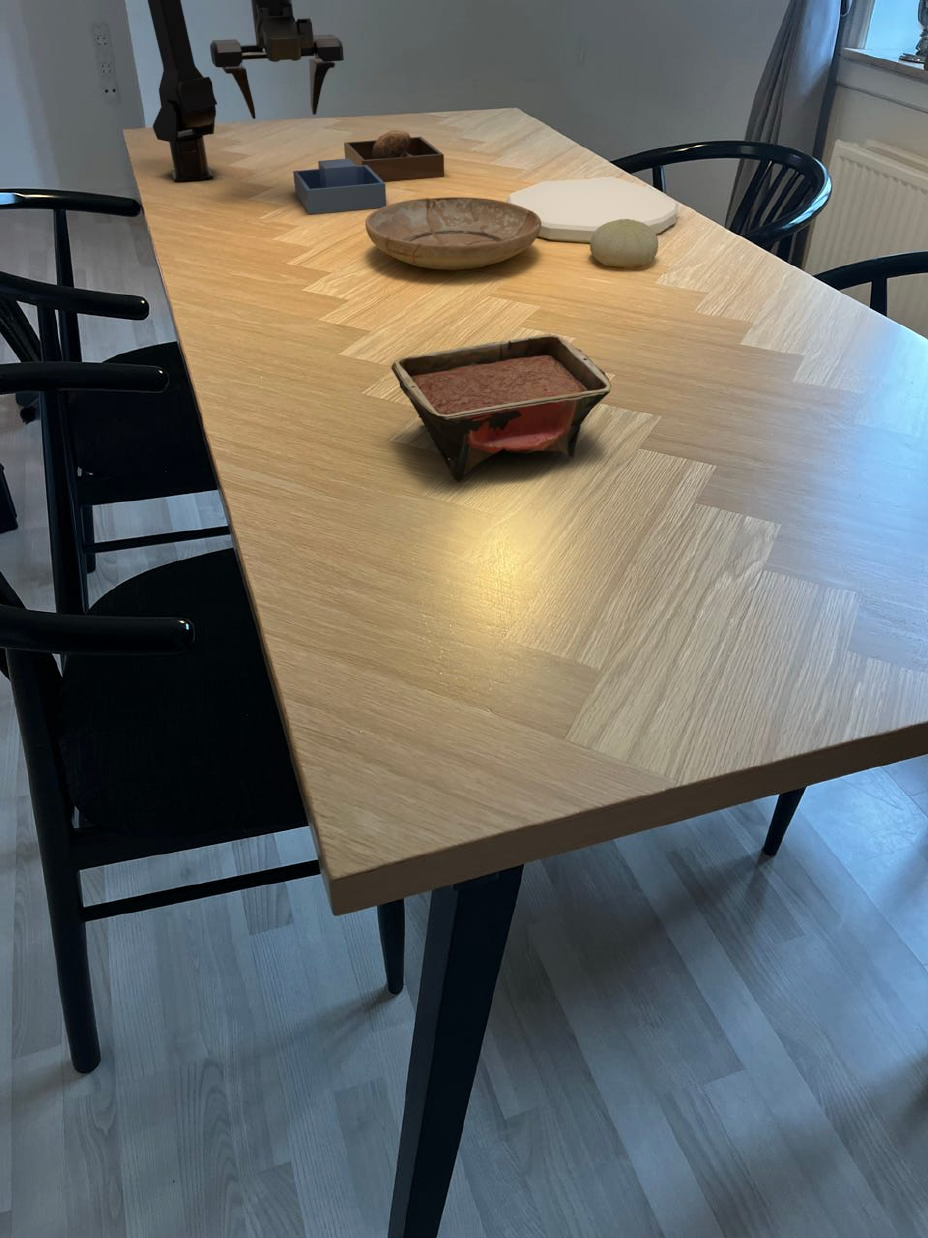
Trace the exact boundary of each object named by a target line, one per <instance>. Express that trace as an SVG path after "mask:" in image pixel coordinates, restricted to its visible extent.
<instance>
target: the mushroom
mask: <svg viewBox="0 0 928 1238" xmlns="http://www.w3.org/2000/svg"><path fill="white" fill-rule="evenodd" d="M410 137H411V135H410V133H408V132H407V131H405V130H394V129H393V130H389V131H387V132H385V133H384V134H382V135H380V136H379V137H378V138H377V139H376V140H377V141H376V142H375V144H374V146H373V151H372V157H373V159H383V158H395V157H408V156H412V155H410V154H408V153H407V151H406V149H407V147H408V146H409V144H410V140H411V138H410Z"/></svg>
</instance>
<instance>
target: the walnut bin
mask: <svg viewBox="0 0 928 1238" xmlns="http://www.w3.org/2000/svg"><path fill="white" fill-rule="evenodd" d="M410 138H411V140H410V144H409V146H408V147H407V149H406V151H407V153H408V154H410V155H412V156H408V157H395V158H383V159H373V157H372V151H373V146H374V144H375V142H376V141H377V140H378V139H373V140H360V141H348V142H344V143H343V147H344V148H343V150H344V159H348V158H349V159H350V160H351V161H352V162H353V163H354V164H355V165H356V166H361V165H368V166H369V168H370V169H371V170H372V171H373V172H374V173H375V174H376V175H377V176H378V177H379V178H380V179H381V180H382V181H383V182H384V183H385V182H397V181H398V182H399V181H406V180H407V181H409V180H421V179H431V178H432V179H433V178H442V177H445V154H444V153H443V152H442V151H441V150H439V149H438V148H436V147H435V146H434V145H433V144H431V143H430V142H429V141H427V140H426V139H424V138H423V137H422V136H410Z"/></svg>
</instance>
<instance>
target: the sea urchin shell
mask: <svg viewBox="0 0 928 1238" xmlns="http://www.w3.org/2000/svg"><path fill="white" fill-rule="evenodd" d="M589 251H590V254H591V255H592V256H593V257H594V259H595V260H596V261H597V262H599V263H601V264H602V265H603V266H606V267H616V268H617V267H619V268H620V267H622V268H639V267H643V266H644V265H646V264H648V263H650V262H651V261H652V260H653V259H654V258H655V257H656V256H657V254H658V252H659V238H658V234H655V233H654V231H653V230H652V229H651V228H650V227H649V226H648V225H646V224H644V223H641V222H638V221H635V220H630V219H620V220H616V221H614V220H613V221H612V222H608V223H606V224H604V225H602V226H600V227H599V228H598V229H597V230H596V231H595V232H594V233H593V235H592V238H591V241H590V243H589Z"/></svg>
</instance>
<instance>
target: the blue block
mask: <svg viewBox="0 0 928 1238" xmlns="http://www.w3.org/2000/svg"><path fill="white" fill-rule="evenodd" d="M317 163H318V165H317V166H318V169H319V175H320V186H321V188H328V187H340V186H351V185H358V184H357V169H356V165H355V164H354V163H353V162H352V161H351V160H350V159H349V158H348V159H345V158H338V159H325V160H318V161H317Z"/></svg>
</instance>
